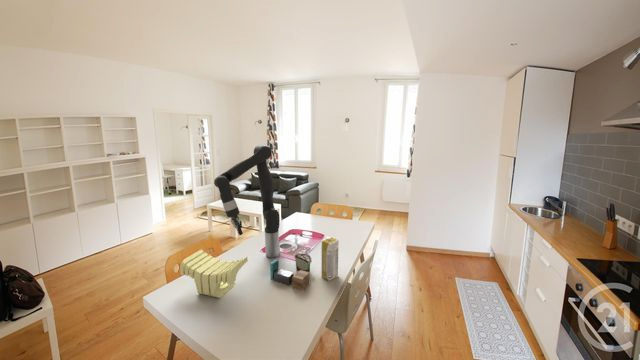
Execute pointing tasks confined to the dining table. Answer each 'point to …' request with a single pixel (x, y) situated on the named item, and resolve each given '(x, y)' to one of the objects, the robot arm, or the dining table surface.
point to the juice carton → (329, 258)
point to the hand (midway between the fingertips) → (240, 234)
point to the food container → (303, 262)
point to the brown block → (301, 280)
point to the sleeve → (283, 276)
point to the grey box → (274, 267)
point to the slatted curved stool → (211, 273)
